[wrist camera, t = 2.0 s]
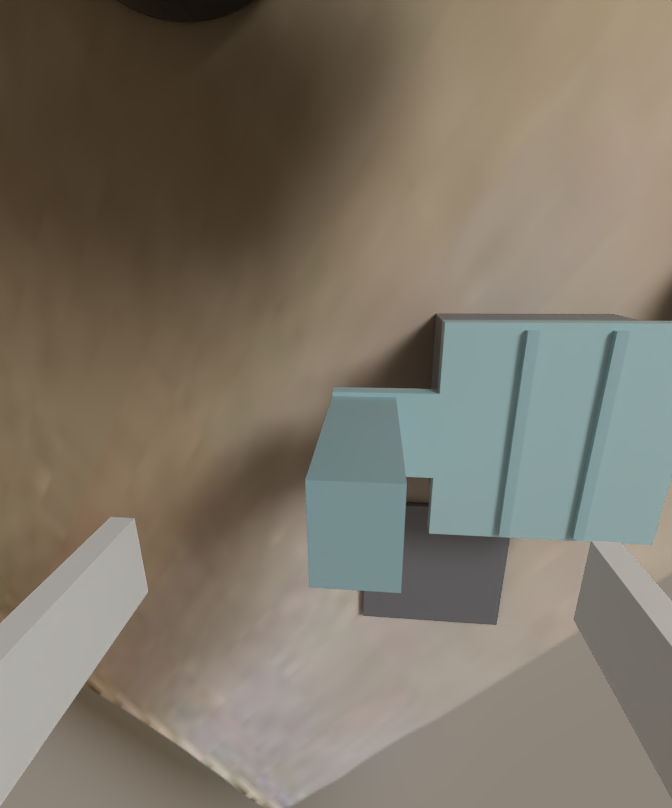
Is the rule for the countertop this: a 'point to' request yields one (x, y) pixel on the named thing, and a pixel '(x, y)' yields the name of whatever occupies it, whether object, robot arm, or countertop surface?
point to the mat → (444, 576)
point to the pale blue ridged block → (498, 446)
